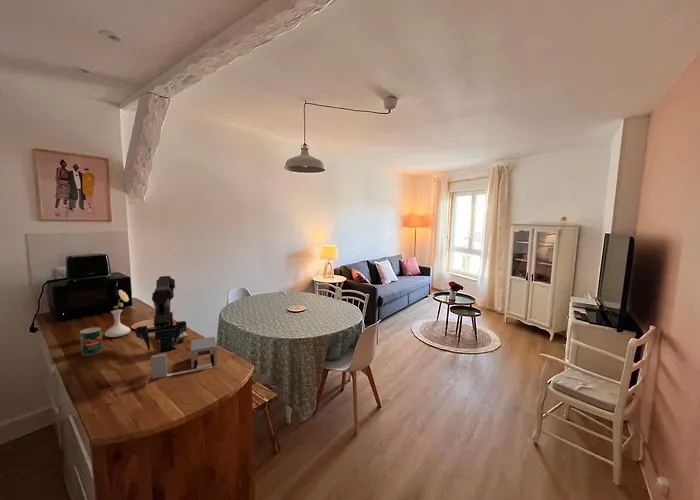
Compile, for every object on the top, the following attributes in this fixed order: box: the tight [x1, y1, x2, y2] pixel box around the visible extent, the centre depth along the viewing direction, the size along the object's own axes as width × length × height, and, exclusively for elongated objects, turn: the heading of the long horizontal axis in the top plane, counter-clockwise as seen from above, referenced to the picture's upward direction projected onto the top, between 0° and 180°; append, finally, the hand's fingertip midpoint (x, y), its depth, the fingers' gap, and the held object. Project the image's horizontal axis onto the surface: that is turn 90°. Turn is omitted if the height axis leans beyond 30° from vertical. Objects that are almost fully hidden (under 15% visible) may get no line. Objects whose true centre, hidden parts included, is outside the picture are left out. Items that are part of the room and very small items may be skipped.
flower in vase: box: [104, 289, 131, 338], centre depth 166 cm, size 13×11×25 cm
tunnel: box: [190, 336, 218, 370], centre depth 137 cm, size 12×10×10 cm
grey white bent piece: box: [151, 353, 213, 380], centre depth 130 cm, size 9×22×10 cm, turn 117°
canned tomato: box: [79, 326, 103, 356], centre depth 145 cm, size 8×8×11 cm
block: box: [197, 350, 211, 365], centre depth 135 cm, size 5×5×5 cm
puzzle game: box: [173, 331, 189, 343], centre depth 163 cm, size 12×5×20 cm
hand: (161, 348), depth 127 cm, fingers open, 9 cm apart
